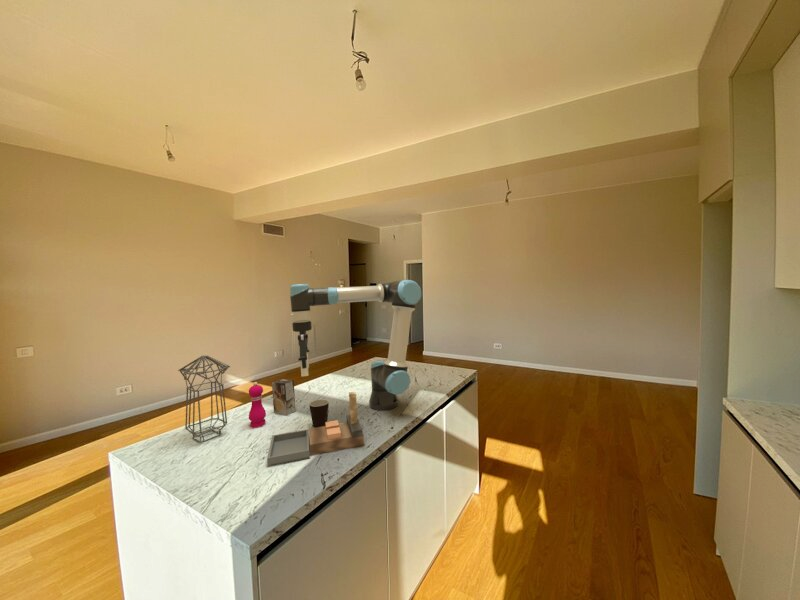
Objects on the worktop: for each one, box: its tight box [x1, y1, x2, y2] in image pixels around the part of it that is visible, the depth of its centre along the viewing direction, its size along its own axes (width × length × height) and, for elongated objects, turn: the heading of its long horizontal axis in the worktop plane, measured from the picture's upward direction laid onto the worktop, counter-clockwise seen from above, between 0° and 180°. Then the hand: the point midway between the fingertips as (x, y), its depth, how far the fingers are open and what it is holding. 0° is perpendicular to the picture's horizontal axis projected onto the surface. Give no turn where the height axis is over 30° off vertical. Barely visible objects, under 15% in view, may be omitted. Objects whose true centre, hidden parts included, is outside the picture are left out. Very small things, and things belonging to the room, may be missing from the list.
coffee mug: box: [308, 398, 330, 428], centre depth 139 cm, size 12×9×10 cm
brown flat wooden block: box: [308, 421, 365, 456], centre depth 122 cm, size 20×14×4 cm
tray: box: [266, 428, 311, 467], centre depth 117 cm, size 14×18×3 cm
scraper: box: [346, 391, 364, 438], centre depth 124 cm, size 4×16×14 cm, turn 17°
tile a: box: [325, 419, 339, 432], centre depth 125 cm, size 5×5×2 cm
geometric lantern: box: [177, 355, 231, 444], centre depth 131 cm, size 16×16×35 cm
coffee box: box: [271, 378, 297, 416], centre depth 154 cm, size 9×6×16 cm
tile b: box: [326, 427, 341, 440], centre depth 118 cm, size 5×5×2 cm
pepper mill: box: [248, 381, 267, 429], centre depth 140 cm, size 7×7×20 cm
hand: (305, 371), depth 128 cm, fingers open, 13 cm apart
